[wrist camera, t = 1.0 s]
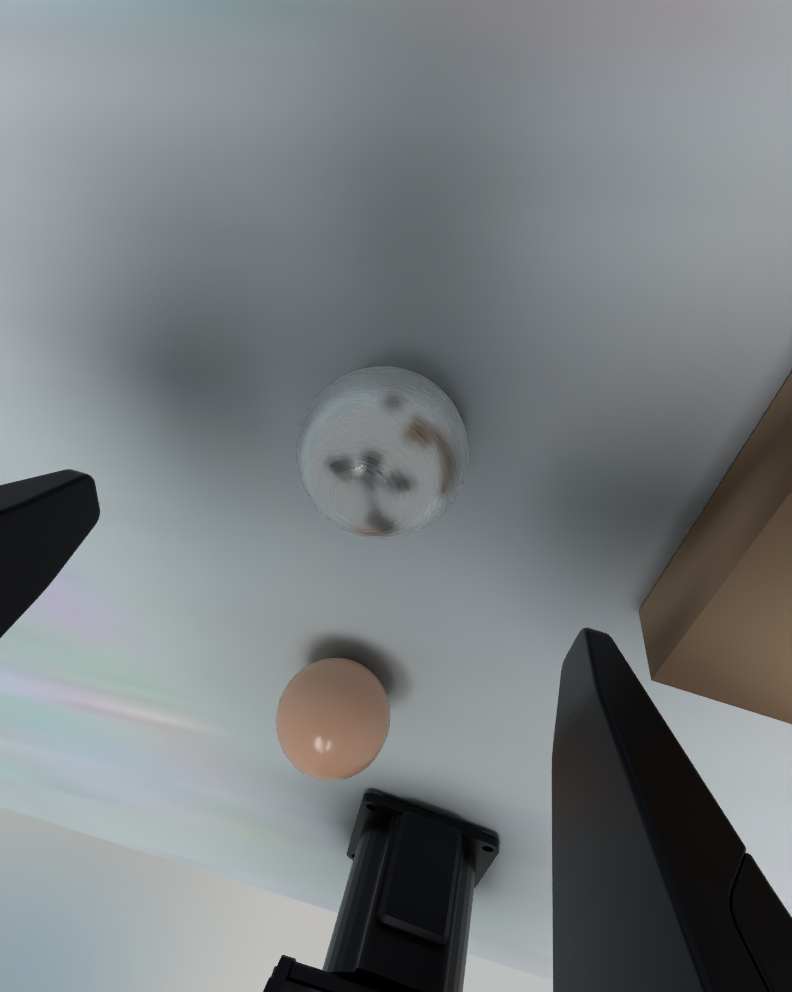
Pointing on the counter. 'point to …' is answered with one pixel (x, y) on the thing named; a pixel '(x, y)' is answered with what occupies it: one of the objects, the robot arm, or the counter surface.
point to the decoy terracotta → (333, 719)
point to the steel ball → (382, 452)
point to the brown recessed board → (734, 583)
